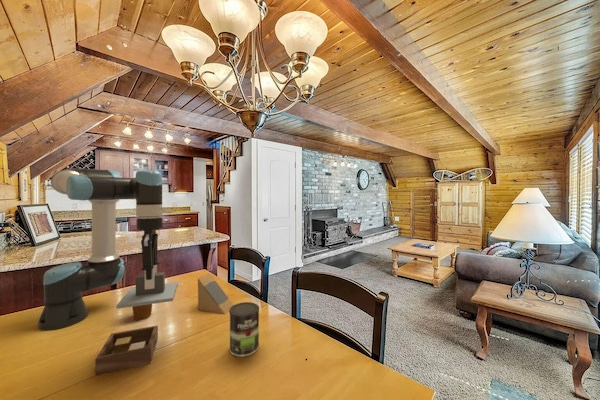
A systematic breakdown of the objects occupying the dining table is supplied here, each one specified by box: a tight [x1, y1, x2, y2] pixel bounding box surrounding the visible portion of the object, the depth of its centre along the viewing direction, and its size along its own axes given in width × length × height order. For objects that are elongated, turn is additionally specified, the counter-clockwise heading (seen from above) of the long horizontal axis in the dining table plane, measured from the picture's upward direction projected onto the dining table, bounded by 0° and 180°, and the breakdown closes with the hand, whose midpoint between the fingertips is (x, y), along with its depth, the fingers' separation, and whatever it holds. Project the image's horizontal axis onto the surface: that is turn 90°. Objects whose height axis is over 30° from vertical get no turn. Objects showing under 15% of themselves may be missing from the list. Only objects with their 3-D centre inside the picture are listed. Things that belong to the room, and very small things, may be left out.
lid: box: [116, 271, 179, 310], centre depth 83 cm, size 15×15×7 cm
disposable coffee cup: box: [131, 304, 153, 321], centre depth 108 cm, size 10×10×12 cm
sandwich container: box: [197, 272, 235, 315], centre depth 116 cm, size 9×15×15 cm, turn 72°
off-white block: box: [128, 341, 146, 351], centre depth 80 cm, size 4×4×4 cm
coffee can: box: [228, 301, 260, 358], centre depth 87 cm, size 10×10×14 cm
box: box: [94, 325, 159, 377], centre depth 81 cm, size 14×14×6 cm
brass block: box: [114, 336, 132, 353], centre depth 82 cm, size 4×4×4 cm
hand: (150, 286), depth 83 cm, fingers closed on lid, 3 cm apart
